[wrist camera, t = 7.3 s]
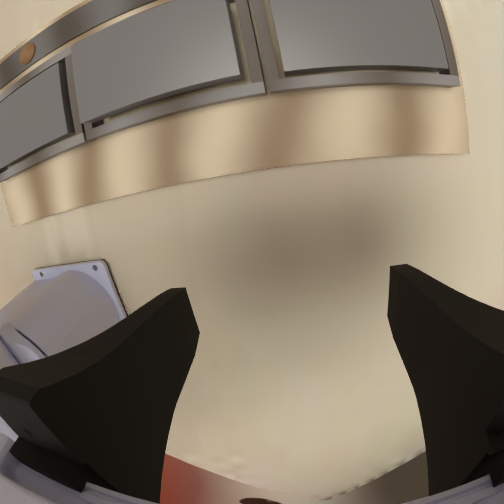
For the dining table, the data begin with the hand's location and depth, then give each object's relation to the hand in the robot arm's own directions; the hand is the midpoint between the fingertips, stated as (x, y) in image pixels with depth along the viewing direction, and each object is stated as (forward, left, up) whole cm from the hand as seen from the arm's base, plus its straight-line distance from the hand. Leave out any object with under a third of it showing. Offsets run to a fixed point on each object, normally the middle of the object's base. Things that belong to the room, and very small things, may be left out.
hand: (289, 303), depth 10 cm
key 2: (-17, +11, -8) cm, 21 cm away
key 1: (+5, +11, -8) cm, 15 cm away
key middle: (-6, +11, -7) cm, 14 cm away
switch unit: (-6, +11, -9) cm, 15 cm away
